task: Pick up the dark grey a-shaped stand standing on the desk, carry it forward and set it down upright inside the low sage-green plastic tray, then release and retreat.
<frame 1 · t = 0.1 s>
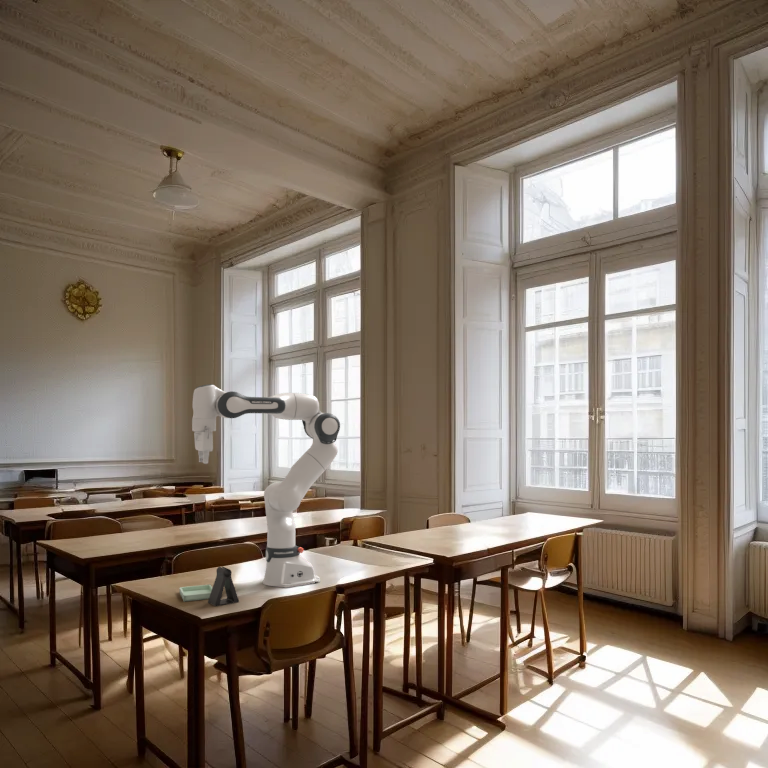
hand: (203, 462, 245), 48 cm above the table, fingers open, 8 cm apart
tray: (197, 595, 235), on the table
dark grey a-shaped stand: (223, 603, 225), on the table
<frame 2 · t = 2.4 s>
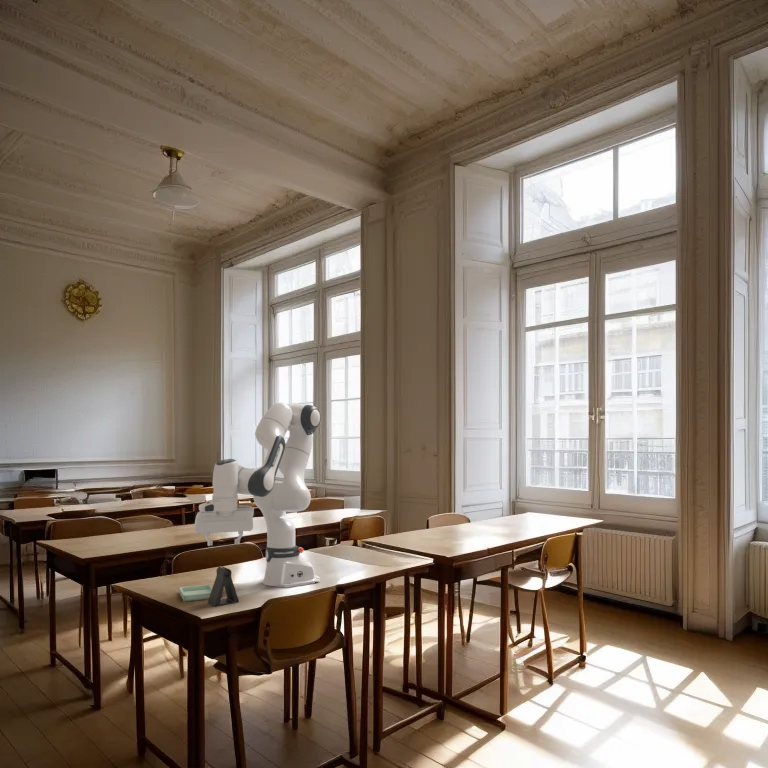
hand: (223, 545, 227), 20 cm above the table, fingers open, 8 cm apart
nothing on the table moved.
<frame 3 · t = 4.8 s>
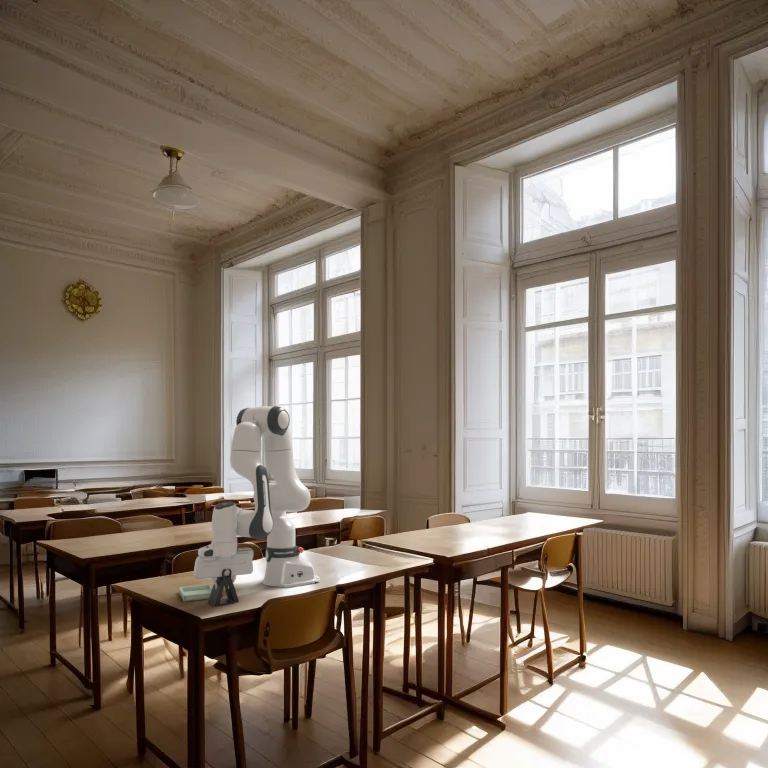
hand: (223, 589, 226), 5 cm above the table, fingers closed on dark grey a-shaped stand, 3 cm apart
dark grey a-shaped stand: (223, 603, 225), on the table, touching gripper
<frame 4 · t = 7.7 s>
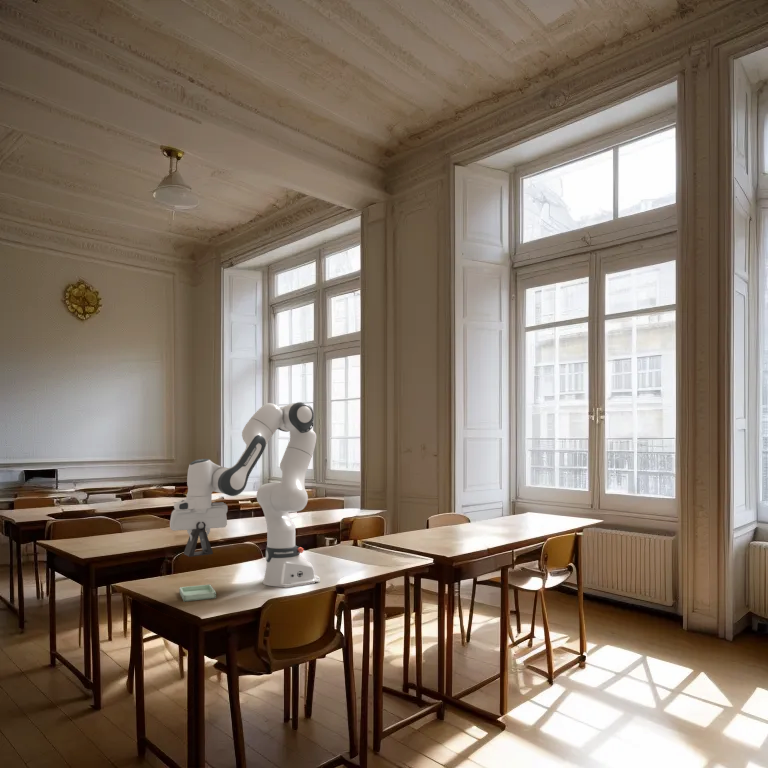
hand: (198, 541, 236), 20 cm above the table, fingers closed on dark grey a-shaped stand, 3 cm apart
dark grey a-shaped stand: (198, 554, 236), point 15 cm above the table, touching gripper
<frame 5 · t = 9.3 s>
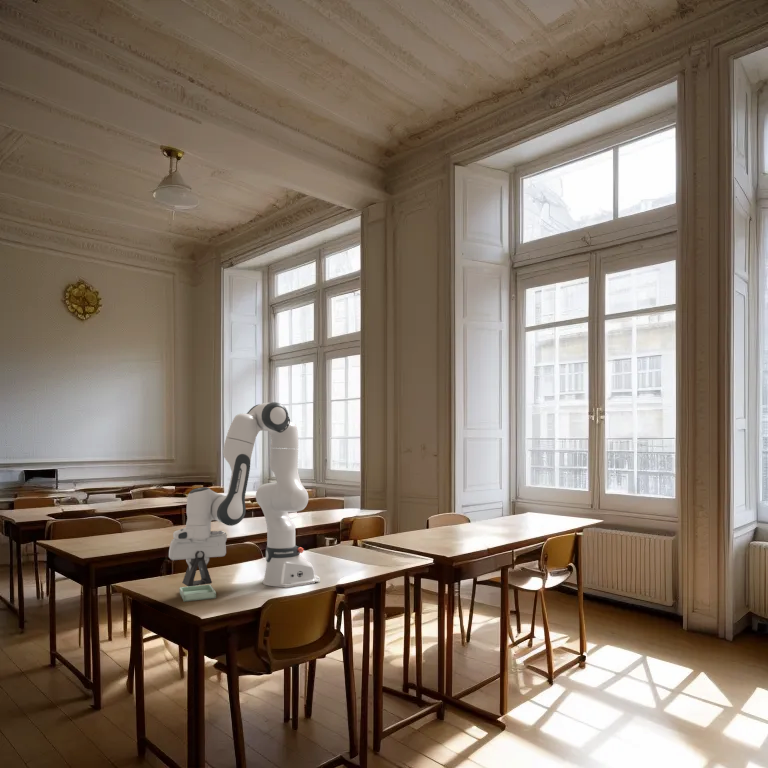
hand: (197, 570, 235), 9 cm above the table, fingers closed on dark grey a-shaped stand, 3 cm apart
dark grey a-shaped stand: (197, 584, 235), point 4 cm above the table, touching gripper
when the fingers open (7 cm above the table, at t = 10.6 s): dark grey a-shaped stand stays where it is, resting on tray.
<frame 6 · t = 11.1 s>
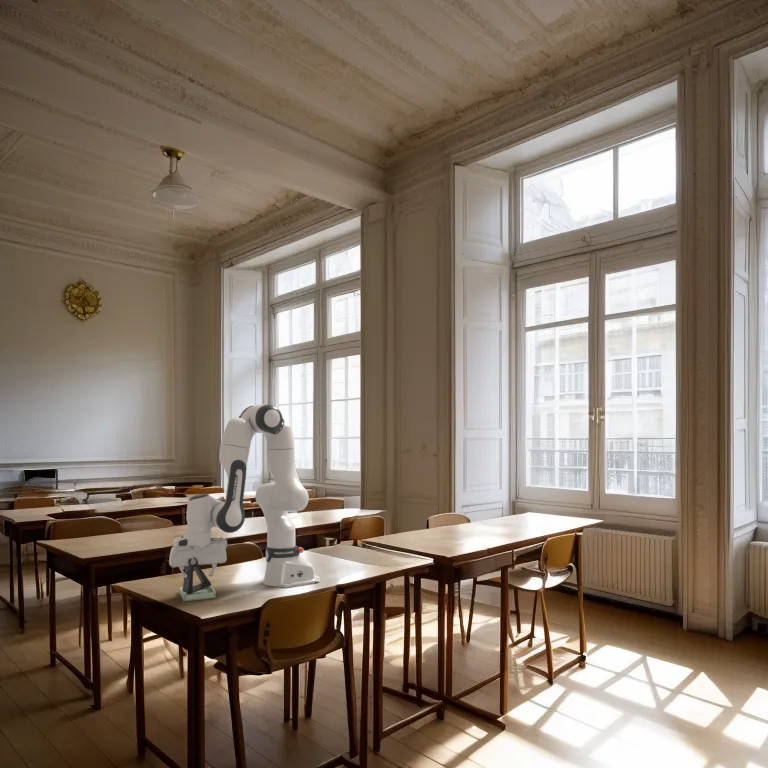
hand: (198, 577, 235), 7 cm above the table, fingers open, 8 cm apart
dark grey a-shaped stand: (197, 588, 235), point 2 cm above the table, touching gripper, tray
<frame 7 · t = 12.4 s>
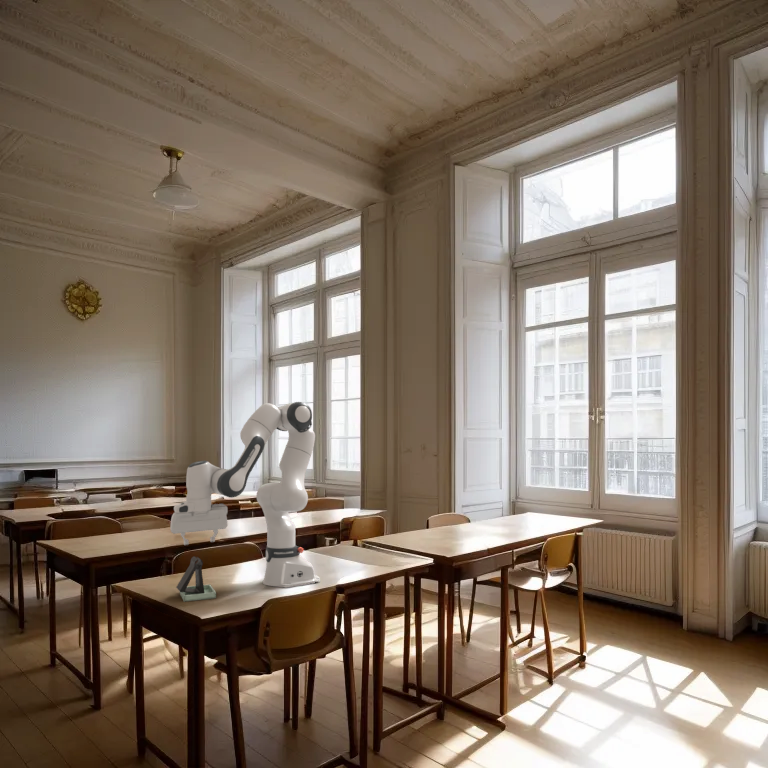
hand: (199, 543, 236), 19 cm above the table, fingers open, 8 cm apart
dark grey a-shaped stand: (190, 591, 235), point 1 cm above the table, touching tray
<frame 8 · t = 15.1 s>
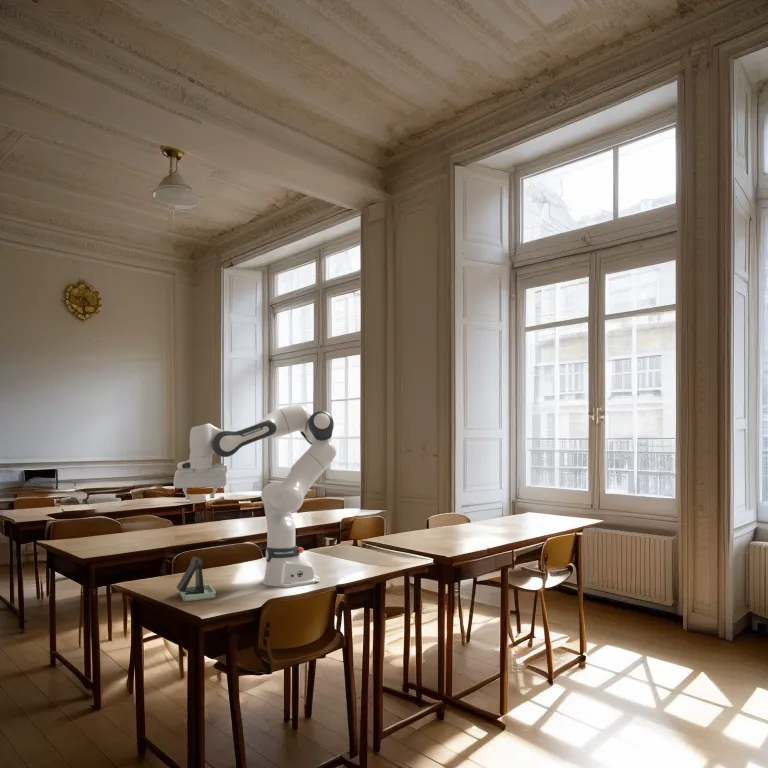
hand: (200, 498, 255), 33 cm above the table, fingers open, 8 cm apart
nothing on the table moved.
at the end: dark grey a-shaped stand inside the target area on the tray (3.0 cm from its centre), point 1.3 cm above the tray's base; dark grey a-shaped stand tilted 13°; the gripper is holding nothing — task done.
